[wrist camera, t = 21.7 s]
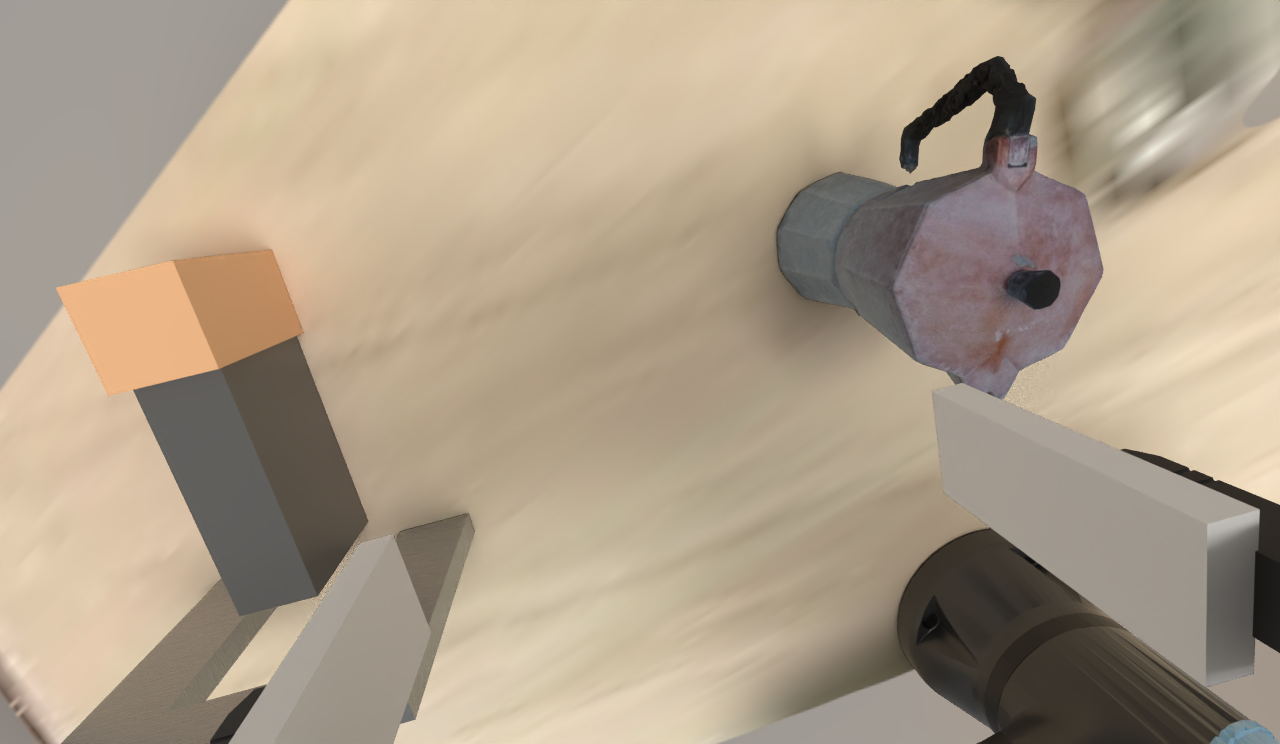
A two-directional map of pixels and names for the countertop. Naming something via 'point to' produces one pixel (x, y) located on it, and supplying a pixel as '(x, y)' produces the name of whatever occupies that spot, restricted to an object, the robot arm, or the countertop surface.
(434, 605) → the grey arch
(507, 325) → the countertop surface
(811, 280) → the moka pot
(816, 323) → the countertop surface
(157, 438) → the plug
